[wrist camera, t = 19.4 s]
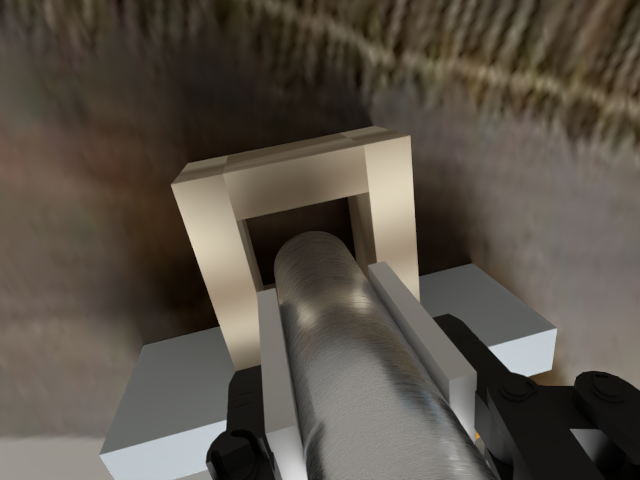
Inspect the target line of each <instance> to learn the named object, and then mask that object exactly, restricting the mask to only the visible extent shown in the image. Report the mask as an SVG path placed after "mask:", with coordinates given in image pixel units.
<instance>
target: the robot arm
mask: <svg viewBox="0 0 640 480" xmlns="http://www.w3.org/2000/svg"><path fill="white" fill-rule="evenodd" d="M368 270H369V278H370V284H371V286H372V287H373V289H374V290H375V292H376V293H377V295H378V296H379V298H380V299H381V301H382V303H383V304H384V306H385V307H386V309H387V310H388V312H389V313H390V315H391V316H392V318H393V319H394V321H395V323H396V324H397V326H398V327H399V329H400V330H401V332H402V333H403V335H404V336H405V338H406V339H407V341H408V342H409V344H410V346H411V347H412V349H413V350H414V352H415V353H416V355H417V356H418V358H419V359H420V361H421V362H422V364H423V366H424V367H425V369H426V370H427V372H428V373H429V375H430V376H431V378H432V379H433V381H434V382H435V384H436V385H437V387H438V389H439V390H440V392H441V393H442V395H443V396H444V398H445V399H446V401H447V402H448V404H449V405H450V407H451V409H452V410H453V412H454V413H455V415H456V416H457V418H458V419H459V421H460V422H461V424H462V425H463V427H464V428H465V430H466V432H467V433H468V435H469V436H470V438H471V439H472V441H473V442H474V444H475V442H476V431H477V433H478V434H479V436H480V437H481V439H482V440H483V442H484V443H485V456H484V459H485V461H486V462H487V464H488V465H489V467H490V468H491V470H492V471H493V473H494V475H495V476H496V478H497V479H498V480H640V391H639V390H638V389H637V388H635V387H634V386H633V385H631V384H630V383H628V382H626V381H625V380H623V379H621V378H619V377H618V376H615V375H612V374H609V373H606V372H599V371H589V372H583V373H581V374H580V375H578V376H577V377H576V380H575V383H574V386H543V385H537V384H536V383H535V382H534V381H533V380H531V379H530V378H528V377H526V376H524V375H521V374H517V373H514V372H511V371H510V370H509V369H508V368H507V367H506V366H505V365H504V364H503V363H502V362H501V361H500V360H499V359H498V358H497V357H496V356H495V355H494V354H493V353H492V351H491V350H490V349H489V348H488V347H487V346H486V345H485V344H484V343H483V342H482V341H481V340H479V338H478V337H477V336H476V335H475V334H474V332H472V331H471V329H470V328H469V327H468V326H467V325H466V324H465V323H464V322H463V321H462V320H460V319H458V318H457V317H455V316H453V315H451V314H449V313H448V314H444V315H440V316H437V317H433V318H432V317H431V316H430V315H429V314H428V313H427V311H426V310H425V309H424V308H423V306H422V305H421V304H420V303H419V302H418V300H417V299H416V298H415V297H414V296H413V294H412V293H411V292H410V291H409V289H408V288H407V287H406V286H405V285H404V283H403V282H402V281H401V280H400V279H399V277H398V276H397V275H396V274H395V272H394V271H393V270H392V269H391V268H390V266H389V265H388V264H387V263H386V262H385V261H383V262H379V263H375V264H371V265H368ZM257 302H258V318H259V335H260V352H261V365H257V366H254V367H250V368H246V369H242V370H239V371H235V373H234V375H233V377H232V379H231V381H230V383H229V386H228V404H227V411H228V412H227V422H226V430H225V431H224V432H222V433H221V434H219V435H218V437H217V438H216V439H215V440H214V441H213V442H212V443H211V445H210V447H209V449H208V451H207V455H206V466H207V468H208V470H209V472H210V475H211V477H212V479H213V480H308V479H307V473H306V467H305V461H304V449H303V443H302V436H301V430H300V424H299V418H298V412H297V406H296V400H295V394H294V388H293V381H292V375H291V369H290V363H289V357H288V351H287V345H286V339H285V333H284V327H283V320H282V314H281V308H280V304H279V300H278V296H277V292H276V288H273V289H269V290H265V291H261V292H257Z"/></svg>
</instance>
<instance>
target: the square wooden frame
mask: <svg viewBox="0 0 640 480" xmlns="http://www.w3.org/2000/svg"><path fill="white" fill-rule="evenodd" d="M171 187H172V190H173V192H174V195H175V198H176V201H177V204H178V207H179V210H180V212H181V215H182V218H183V221H184V224H185V227H186V230H187V233H188V235H189V238H190V241H191V244H192V247H193V250H194V253H195V256H196V258H197V261H198V264H199V267H200V270H201V273H202V276H203V279H204V281H205V284H206V287H207V290H208V293H209V296H210V299H211V301H212V304H213V307H214V310H215V313H216V316H217V319H218V322H219V324H220V327H221V330H222V333H223V336H224V339H225V342H226V345H227V347H228V350H229V353H230V356H231V359H232V362H233V365H234V368H235V370H236V371H239V370H242V369H246V368H250V367H254V366H257V365H261V352H260V335H259V318H258V302H257V292H261V291H265V290H269V289H273V288H276V292H277V287H276V283H273V284H269V285H264V286H263V283H262V279H261V275H260V272H259V268H258V264H257V260H256V257H255V253H254V249H253V246H252V242H251V238H250V235H249V231H248V227H247V224H246V220H245V219H248V218H252V217H257V216H261V215H266V214H271V213H275V212H280V211H284V210H289V209H293V208H298V207H302V206H307V205H311V204H316V203H321V202H325V201H330V200H334V199H339V198H343V197H348V204H349V211H350V219H351V226H352V233H353V240H354V247H355V254H356V262H357V264H358V266H359V267H360V269H361V270H362V272H363V273H364V275H365V276H366V278H367V280H368V281H369V283H370V278H369V270H368V265H371V264H375V263H379V262H383V261H385V262H386V263H387V264H388V265H389V266H390V268H391V269H392V270H393V271H394V272H395V274H396V275H397V276H398V277H399V279H400V280H401V281H402V282H403V283H404V285H405V286H406V287H407V288H408V289H409V291H410V292H411V293H412V294H413V296H414V297H415V298H416V299H417V300H418V302H419V303H420V293H419V276H418V259H417V242H416V225H415V208H414V191H413V174H412V157H411V140H410V135H406V134H403V133H399V132H396V131H392V130H389V129H385V128H381V127H378V126H372V127H367V128H362V129H357V130H352V131H347V132H342V133H337V134H332V135H327V136H322V137H317V138H312V139H307V140H302V141H297V142H292V143H287V144H282V145H277V146H272V147H267V148H262V149H257V150H252V151H247V152H242V153H237V154H232V155H227V156H222V157H217V158H212V159H207V160H202V161H197V162H192V163H188V164H187V165H186V166H185V168H184V169H183V170H182V171H181V173H180V174H179V175H178V176H177V178H176V179H175V180H174V181H173V183H172V184H171ZM277 296H278V293H277ZM278 300H279V299H278Z"/></svg>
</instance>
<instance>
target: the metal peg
mask: <svg viewBox="0 0 640 480" xmlns="http://www.w3.org/2000/svg"><path fill="white" fill-rule="evenodd" d="M274 275H275V281H276V287H277V293H278V299H279V304H280V308H281V314H282V320H283V327H284V333H285V339H286V345H287V351H288V357H289V363H290V369H291V375H292V381H293V388H294V394H295V400H296V406H297V412H298V418H299V424H300V430H301V436H302V443H303V449H304V461H305V467H306V473H307V479H308V480H498V479H497V478H496V476H495V475H494V473H493V471H492V470H491V468H490V467H489V465H488V464H487V462H486V461H485V459H484V458H483V456H482V455H481V453H480V452H479V450H478V448H477V447H476V445H475V444H474V442H473V441H472V439H471V438H470V436H469V435H468V433H467V432H466V430H465V428H464V427H463V425H462V424H461V422H460V421H459V419H458V418H457V416H456V415H455V413H454V412H453V410H452V409H451V407H450V405H449V404H448V402H447V401H446V399H445V398H444V396H443V395H442V393H441V392H440V390H439V389H438V387H437V385H436V384H435V382H434V381H433V379H432V378H431V376H430V375H429V373H428V372H427V370H426V369H425V367H424V366H423V364H422V362H421V361H420V359H419V358H418V356H417V355H416V353H415V352H414V350H413V349H412V347H411V346H410V344H409V342H408V341H407V339H406V338H405V336H404V335H403V333H402V332H401V330H400V329H399V327H398V326H397V324H396V323H395V321H394V319H393V318H392V316H391V315H390V313H389V312H388V310H387V309H386V307H385V306H384V304H383V303H382V301H381V299H380V298H379V296H378V295H377V293H376V292H375V290H374V289H373V287H372V286H371V284H370V283H369V281H368V280H367V278H366V276H365V275H364V273H363V272H362V270H361V269H360V267H359V266H358V264H357V263H356V261H355V260H354V258H353V256H352V255H351V253H350V252H349V250H348V249H347V247H346V246H345V244H344V243H343V242H342V241H341V240H340V239H339V238H337V237H336V236H334V235H332V234H330V233H327V232H322V231H309V232H305V233H301V234H299V235H296V236H295V237H293V238H291V239H290V240H289V241H287V242H286V243H285V244H284V245H283V247H282V248H281V249H280V251H279V252H278V254H277V257H276V259H275V263H274Z"/></svg>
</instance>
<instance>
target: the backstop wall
mask: <svg viewBox="0 0 640 480" xmlns="http://www.w3.org/2000/svg"><path fill="white" fill-rule="evenodd" d="M419 293H420V304H421V305H422V306H423V308H424V309H425V310H426V311H427V313H428V314H429V315H430V316H431V317H432V318H433V317H437V316H440V315H444V314H448V313H449V314H451V315H453V316H455V317H457V318H458V319H460V320H462V321H463V322H464V323H465V324H466V325H467V326H468V327H469V328H470V329H471V331H472V332H474V334H475V335H476V336H477V337H478V338H479V340H481V341H482V342H483V343H484V344H485V345H486V346H487V347H488V348H489V349H490V350H491V351H492V353H493V354H494V355H495V356H496V357H497V358H498V359H499V360H500V361H501V362H502V363H503V364H504V365H505V366H506V367H507V368H508V369H509V370H510V371H511V372H514V373H517V374H521V375H524V376H526V377H528V376H531V375H534V374H538V373H541V372H545V371H548V370H551V369H552V362H553V355H554V347H555V340H556V333H557V328H556V327H555V326H554V325H553V324H551V323H550V322H549V321H547V320H546V319H545V318H543V317H542V316H541V315H539V314H538V313H537V312H536V311H534V310H533V309H532V308H530V307H529V306H528V305H526V304H525V303H524V302H523V301H521V300H520V299H519V298H517V297H516V296H515V295H513V294H512V293H511V292H510V291H508V290H507V289H506V288H504V287H503V286H502V285H500V284H499V283H498V282H496V281H495V280H494V279H493V278H491V277H490V276H489V275H487V274H486V273H485V272H483V271H482V270H481V269H480V268H478V267H477V266H476V265H474V264H473V263H471V264H467V265H463V266H459V267H455V268H451V269H447V270H443V271H439V272H435V273H431V274H427V275H423V276H419ZM235 371H236V370H235V368H234V365H233V362H232V359H231V356H230V353H229V350H228V347H227V345H226V342H225V339H224V336H223V333H222V330H221V327H220V326H219V327H215V328H211V329H207V330H203V331H199V332H195V333H191V334H187V335H183V336H179V337H175V338H171V339H167V340H163V341H159V342H155V343H151V344H147V345H143V348H142V350H141V353H140V355H139V358H138V360H137V363H136V365H135V368H134V370H133V373H132V375H131V378H130V380H129V382H128V385H127V387H126V390H125V392H124V395H123V397H122V400H121V402H120V405H119V407H118V410H117V412H116V415H115V417H114V420H113V422H112V425H111V427H110V429H109V432H108V434H107V437H106V439H105V442H104V444H103V447H102V449H101V452H100V454H99V456H100V458H101V459H102V461H103V462H104V464H105V465H106V467H107V468H108V470H109V472H110V473H111V475H112V476H113V478H114V479H115V480H173V479H177V478H180V477H183V476H187V475H190V474H194V473H197V472H201V471H204V470H208V468H207V466H206V455H207V451H208V449H209V447H210V445H211V443H212V442H213V441H214V440H215V439H216V438H217V437H218V435H219V434H221V433H222V432H224V431H225V430H226V422H227V412H228V411H227V404H228V386H229V383H230V381H231V379H232V377H233V375H234V373H235Z"/></svg>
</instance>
